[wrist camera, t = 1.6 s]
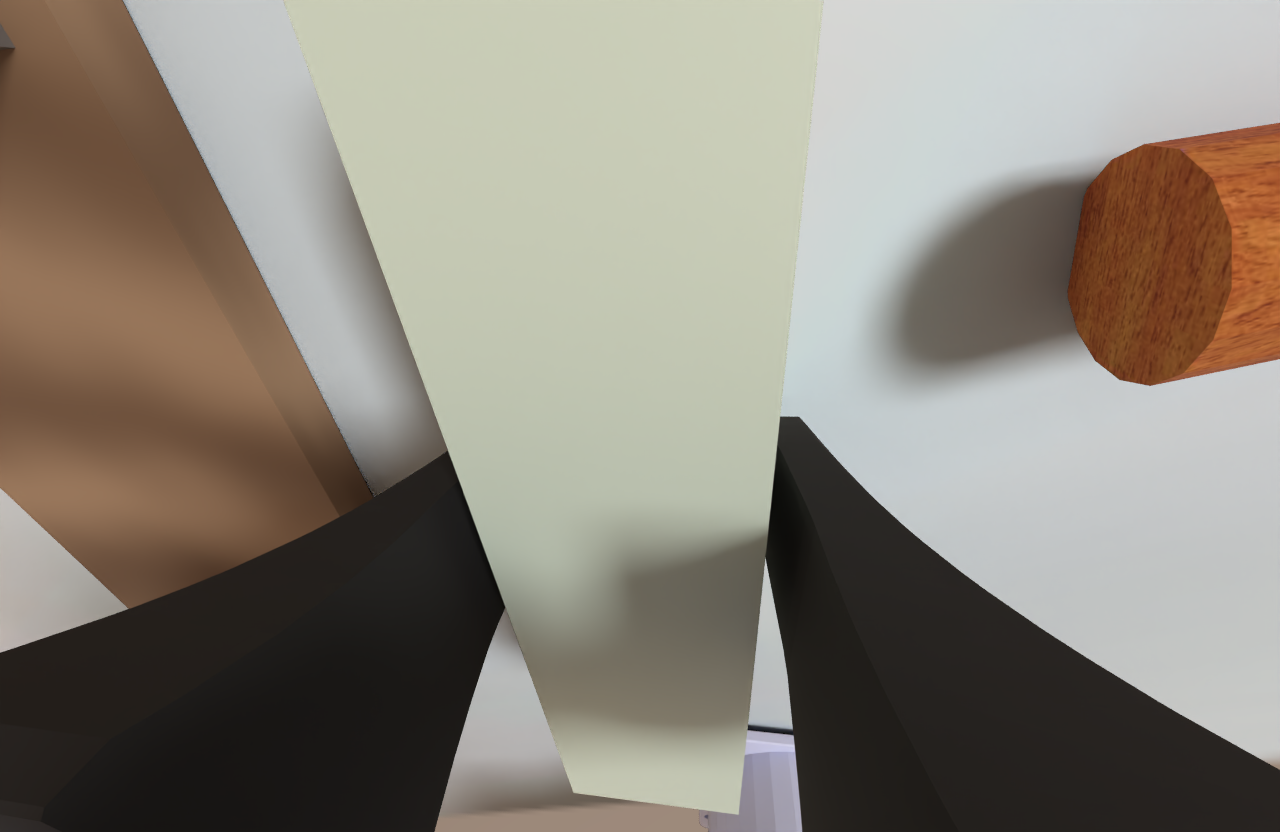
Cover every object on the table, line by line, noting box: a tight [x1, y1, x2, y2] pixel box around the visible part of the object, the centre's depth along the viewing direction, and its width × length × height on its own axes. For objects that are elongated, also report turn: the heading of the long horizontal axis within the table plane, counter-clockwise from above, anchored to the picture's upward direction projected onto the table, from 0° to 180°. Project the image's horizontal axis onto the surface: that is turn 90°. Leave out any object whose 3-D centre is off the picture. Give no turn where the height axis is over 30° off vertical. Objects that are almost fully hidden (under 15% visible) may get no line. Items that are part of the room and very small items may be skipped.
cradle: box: [0, 0, 373, 609], centre depth 11 cm, size 25×11×5 cm, turn 4°
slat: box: [283, 0, 823, 815], centre depth 9 cm, size 16×4×5 cm, turn 4°
